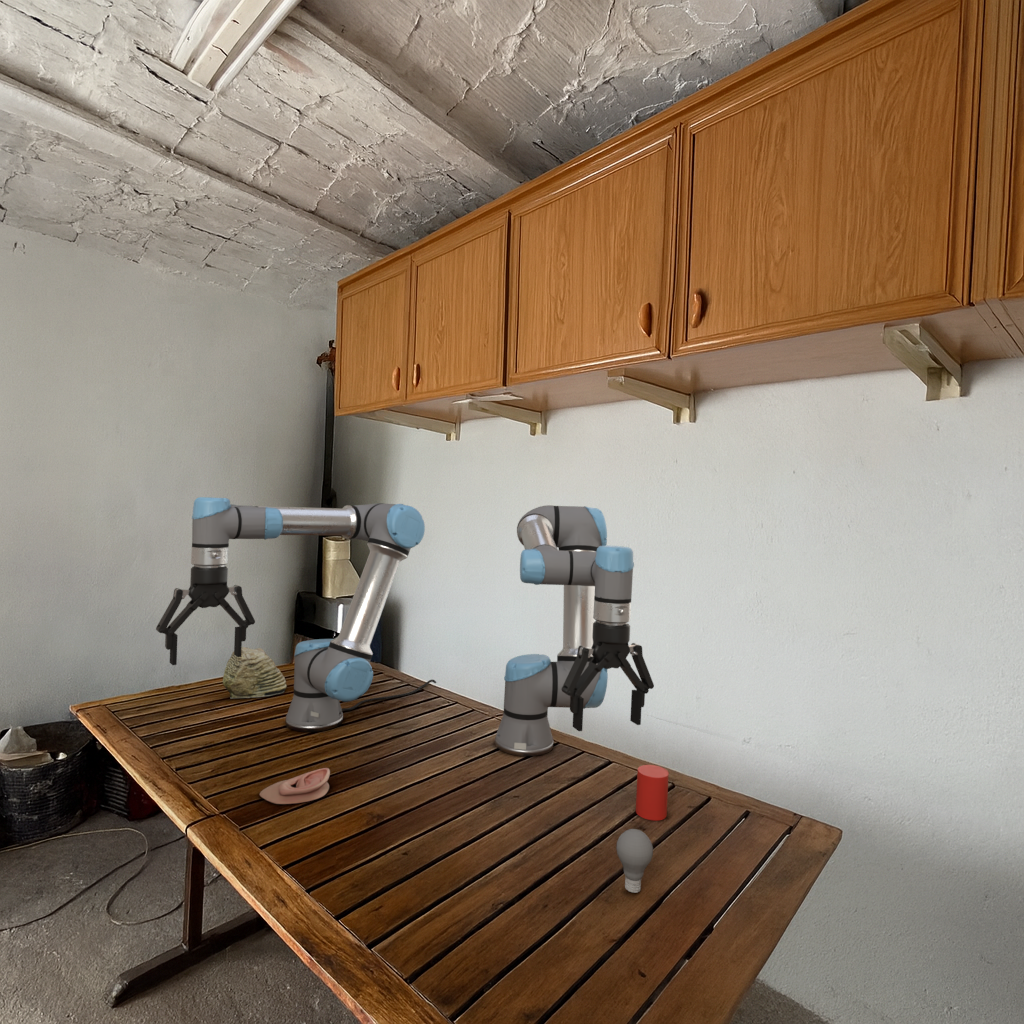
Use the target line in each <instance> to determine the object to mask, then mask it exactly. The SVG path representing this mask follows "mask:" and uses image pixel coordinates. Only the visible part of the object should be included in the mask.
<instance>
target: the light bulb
mask: <svg viewBox="0 0 1024 1024" xmlns="http://www.w3.org/2000/svg"><path fill="white" fill-rule="evenodd" d="M615 849H616V854H617V857H618V859H619V861H620V863H621V865H622V867H623V873H624V874H623V875H624V876H625V878H624V888H625V890H627V891H628V892H630V893H634V894H635V893H639V892H640V891H641V889H642V887H641V886H642V879H643V877H644V875H645V871H646V868H647V867H648V866H649V864H650V863H651V861H652V859H653V855H654V847H653V843H652V841H651V838H649V836H648V835H647V834H646V833H645V832H643V831H642V830H641V829H636V828H629V829H627V830H625V831H623V832H622V833H621V834H620V835H619V837H618V839H617V841H616V847H615Z"/></svg>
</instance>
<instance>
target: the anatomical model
mask: <svg viewBox="0 0 1024 1024" xmlns="http://www.w3.org/2000/svg"><path fill="white" fill-rule="evenodd" d="M330 776H331V770H330V768H329V767H323V768H319V769H314V770H312V771H308V772H305V773H303V774H300V775H297V776H294V777H292V778H289V779H284V780H281V781H280V780H279V781H277V782H275V783H273V784H270V785H269V786H266V787H265V788H263V789H262V790H261V791H259V797H261V799H264V800H265V801H267V802H269V803H271V804H275V805H292V804H300V803H306V802H310V801H314V800H318V799H320V798H322V797H324V796H325V795H326V794H327V793H328V792H329V790H330V784H329V782H328V780H329V778H330Z"/></svg>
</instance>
